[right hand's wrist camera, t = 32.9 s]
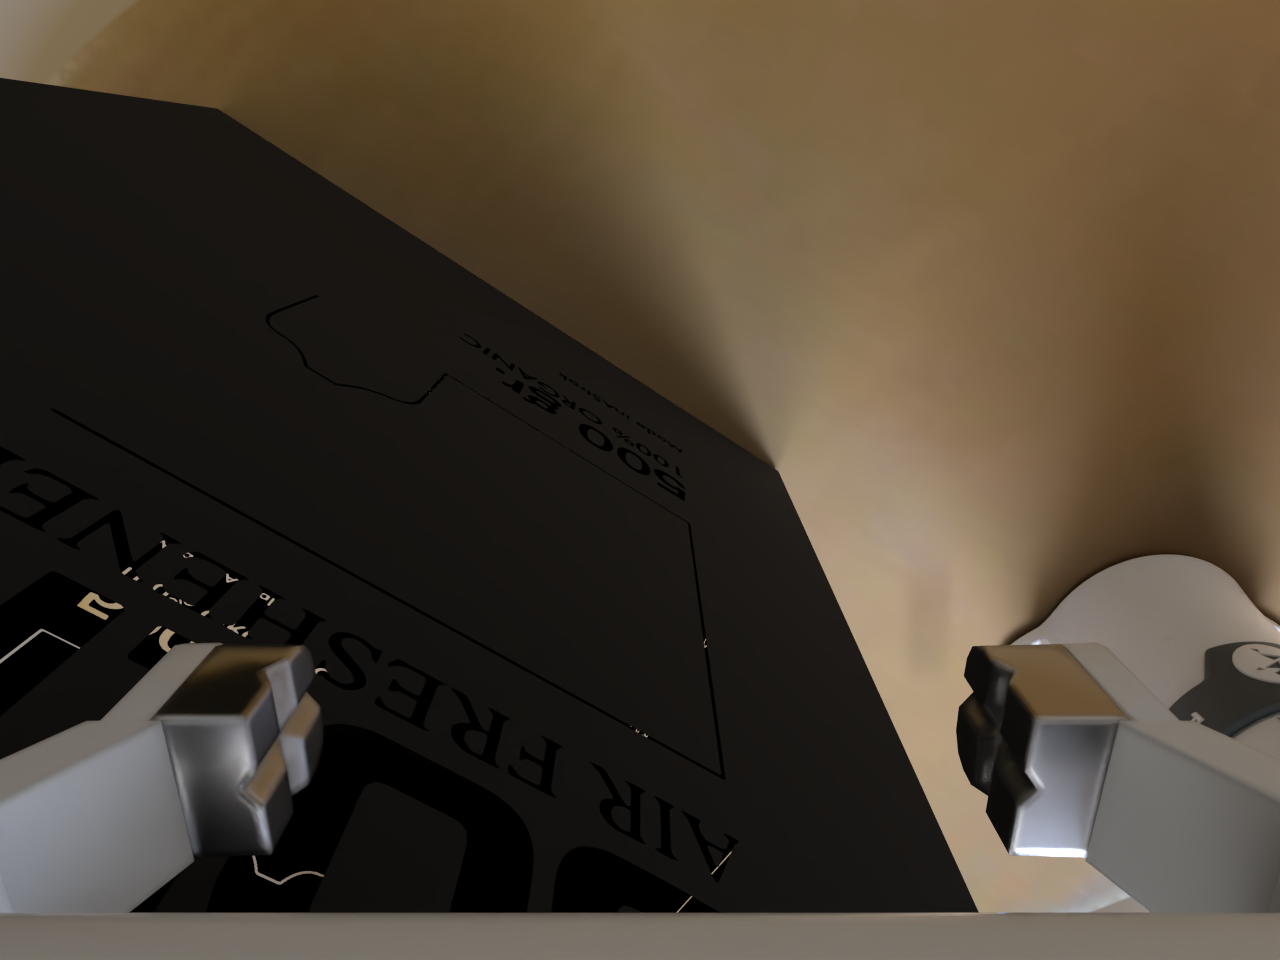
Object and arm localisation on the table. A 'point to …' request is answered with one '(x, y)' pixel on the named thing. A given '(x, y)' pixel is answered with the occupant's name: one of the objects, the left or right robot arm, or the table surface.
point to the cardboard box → (414, 553)
